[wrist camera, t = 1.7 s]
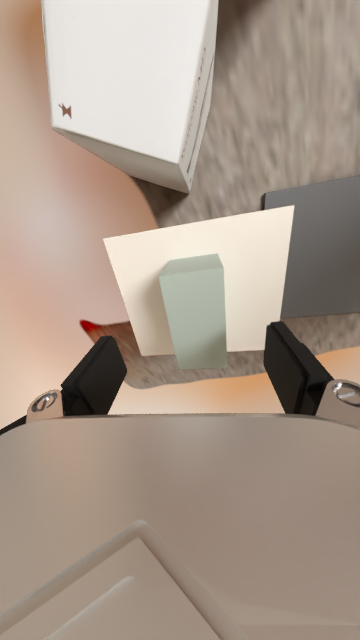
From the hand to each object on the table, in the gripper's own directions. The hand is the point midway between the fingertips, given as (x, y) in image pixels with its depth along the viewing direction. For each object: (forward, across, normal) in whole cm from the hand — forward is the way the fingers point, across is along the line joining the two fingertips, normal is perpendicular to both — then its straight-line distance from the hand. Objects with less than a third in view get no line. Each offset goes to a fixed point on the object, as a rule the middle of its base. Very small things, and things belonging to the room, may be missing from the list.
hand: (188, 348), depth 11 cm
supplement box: (+16, +1, -14) cm, 22 cm away
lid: (+9, -1, 0) cm, 9 cm away
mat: (+16, -18, 0) cm, 24 cm away
